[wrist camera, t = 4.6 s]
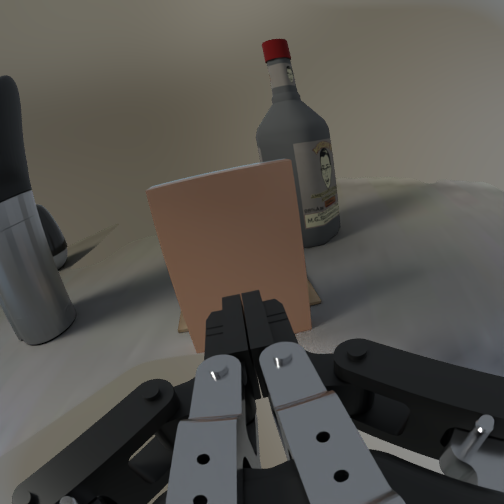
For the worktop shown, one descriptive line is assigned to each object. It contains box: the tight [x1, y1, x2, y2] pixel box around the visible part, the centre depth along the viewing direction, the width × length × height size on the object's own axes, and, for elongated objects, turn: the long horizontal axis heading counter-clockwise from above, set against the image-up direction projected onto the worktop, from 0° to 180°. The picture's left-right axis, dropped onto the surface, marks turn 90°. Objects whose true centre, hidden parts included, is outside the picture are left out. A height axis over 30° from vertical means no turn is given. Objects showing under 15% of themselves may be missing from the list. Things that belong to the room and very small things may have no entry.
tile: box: [146, 158, 312, 353], centre depth 22 cm, size 10×2×14 cm, turn 97°
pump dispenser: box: [36, 204, 67, 269], centre depth 52 cm, size 10×10×15 cm
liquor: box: [256, 39, 340, 248], centre depth 39 cm, size 9×9×30 cm
